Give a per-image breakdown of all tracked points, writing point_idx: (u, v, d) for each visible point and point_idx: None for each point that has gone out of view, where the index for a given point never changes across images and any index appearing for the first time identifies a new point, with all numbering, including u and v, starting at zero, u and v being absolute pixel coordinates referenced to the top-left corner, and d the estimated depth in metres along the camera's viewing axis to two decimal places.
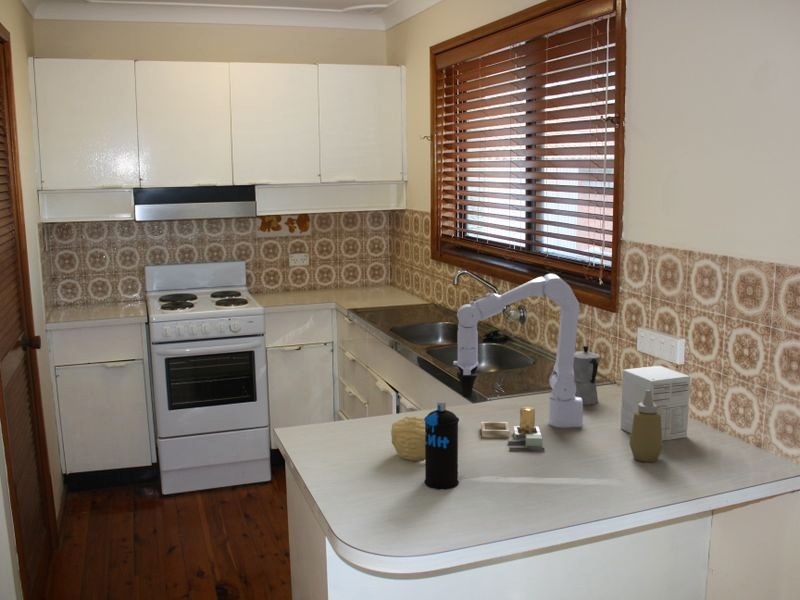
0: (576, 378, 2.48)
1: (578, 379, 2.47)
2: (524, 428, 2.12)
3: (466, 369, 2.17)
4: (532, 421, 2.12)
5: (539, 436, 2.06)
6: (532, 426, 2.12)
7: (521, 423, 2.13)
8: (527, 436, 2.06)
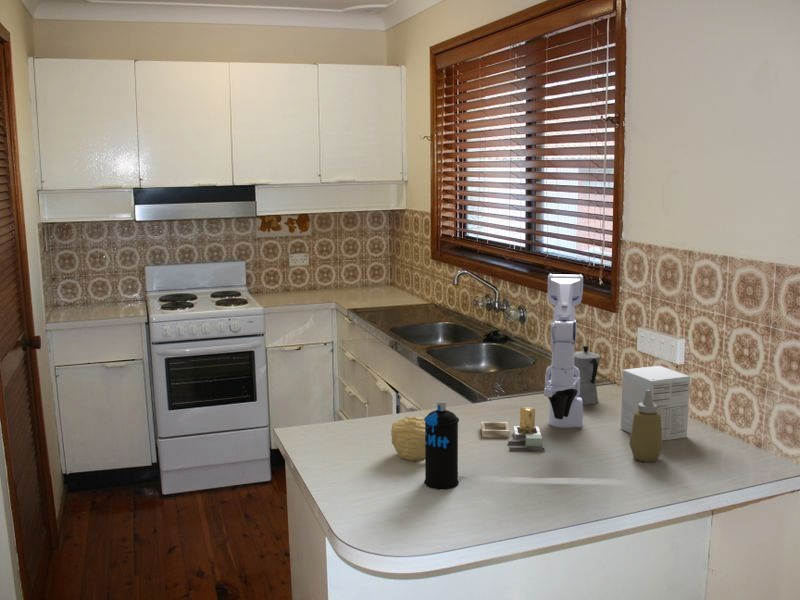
0: None
1: None
2: (524, 428, 2.12)
3: (546, 390, 1.98)
4: (532, 421, 2.12)
5: (539, 436, 2.06)
6: (532, 426, 2.12)
7: (521, 423, 2.13)
8: (527, 436, 2.06)
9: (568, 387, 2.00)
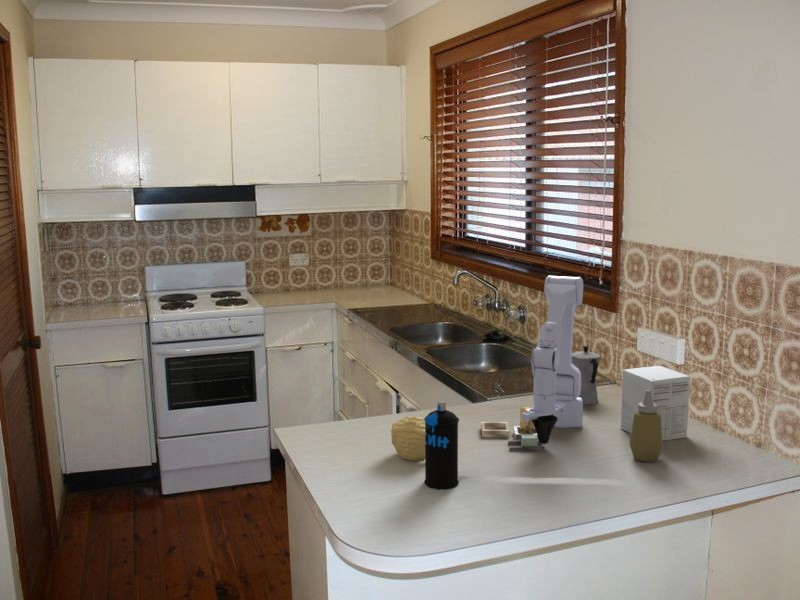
0: None
1: None
2: (524, 428, 2.12)
3: (523, 415, 2.01)
4: None
5: (534, 436, 2.06)
6: (532, 426, 2.12)
7: (521, 423, 2.13)
8: (522, 436, 2.06)
9: (547, 413, 2.02)
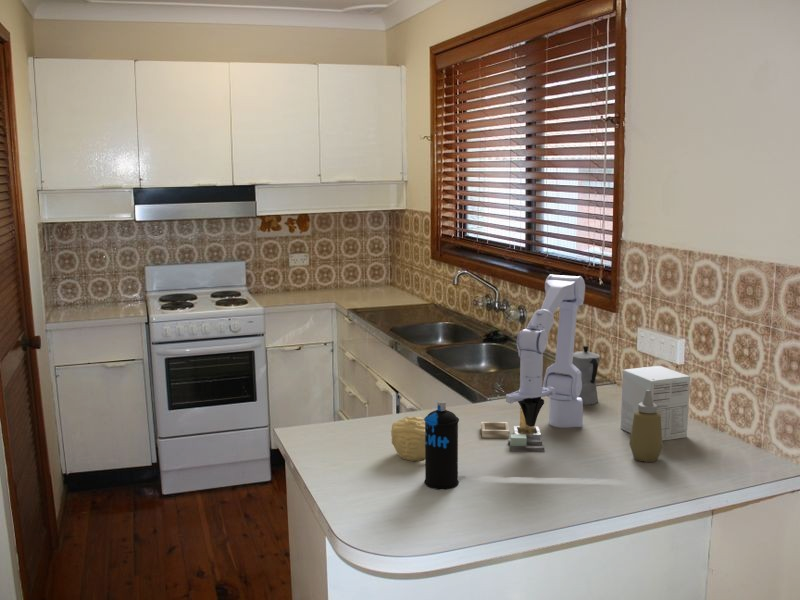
0: None
1: None
2: (524, 428, 2.12)
3: (507, 396, 2.01)
4: None
5: (524, 436, 2.06)
6: (532, 426, 2.12)
7: (521, 423, 2.13)
8: (512, 436, 2.06)
9: (532, 396, 2.01)
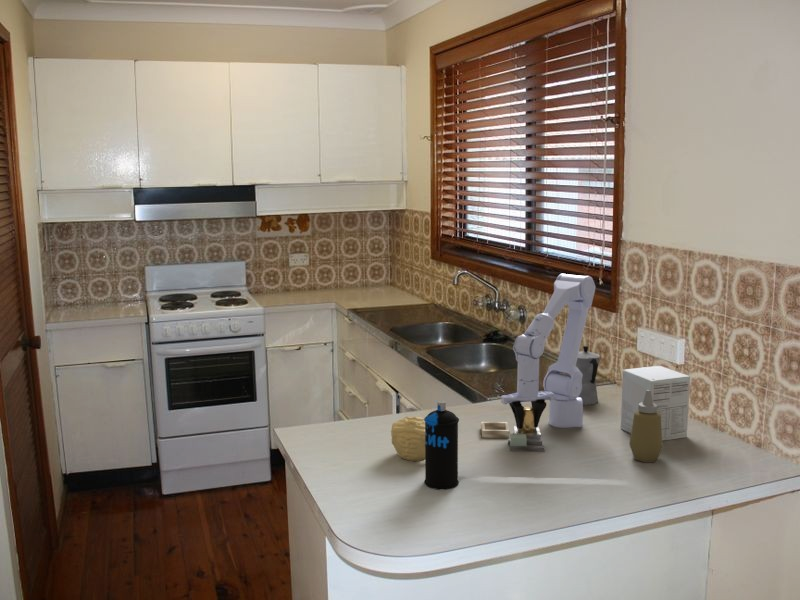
0: None
1: None
2: (524, 428, 2.12)
3: (502, 397, 2.11)
4: (532, 421, 2.12)
5: (524, 436, 2.06)
6: (532, 426, 2.12)
7: None
8: (512, 436, 2.06)
9: (526, 398, 2.10)
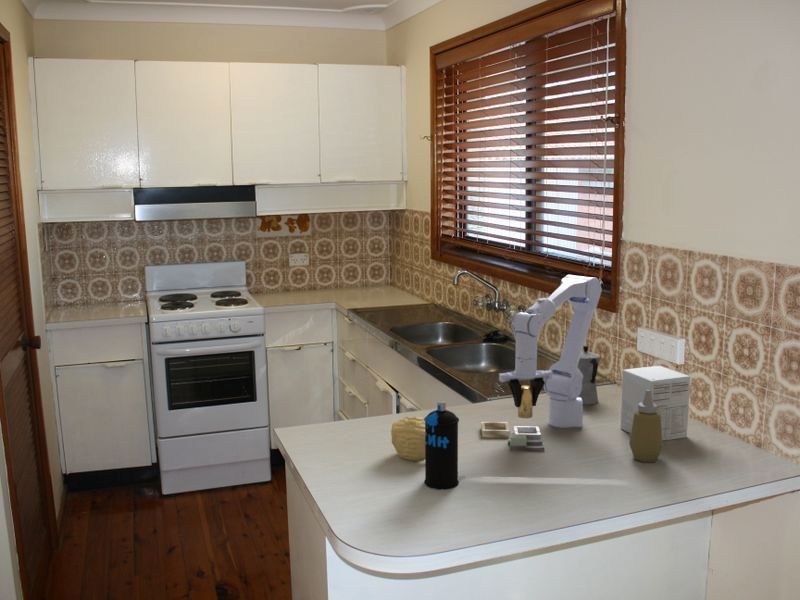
0: None
1: None
2: (522, 406, 2.12)
3: (500, 375, 2.11)
4: (530, 399, 2.11)
5: (524, 436, 2.06)
6: (529, 404, 2.11)
7: None
8: (512, 436, 2.06)
9: (524, 376, 2.09)
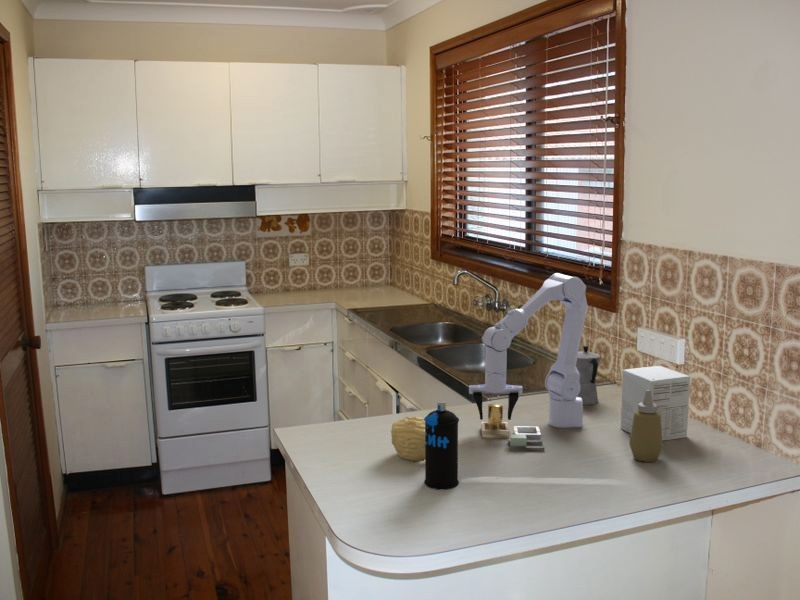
0: None
1: None
2: (490, 423, 2.16)
3: (469, 387, 2.17)
4: (498, 418, 2.15)
5: (524, 436, 2.06)
6: (498, 422, 2.15)
7: (488, 419, 2.17)
8: (512, 436, 2.06)
9: (490, 390, 2.13)
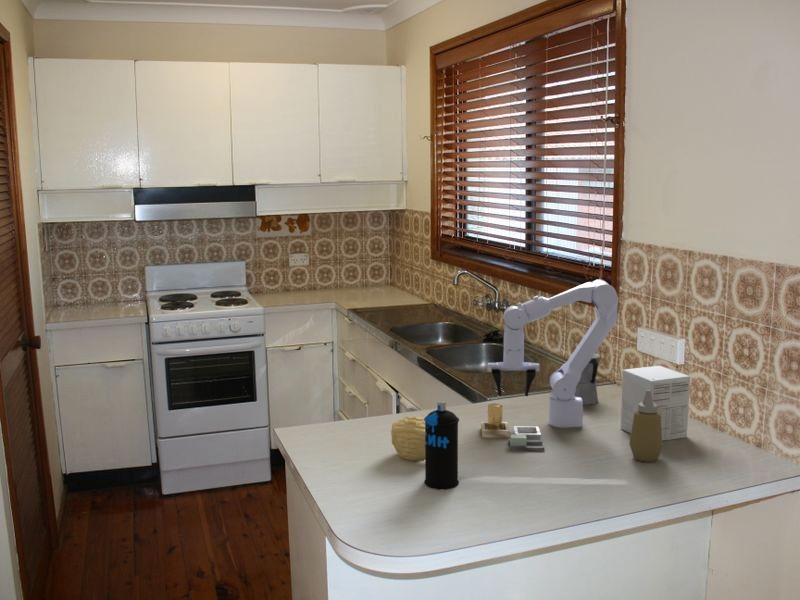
0: None
1: None
2: (490, 424, 2.16)
3: None
4: (498, 418, 2.15)
5: (524, 436, 2.06)
6: (497, 422, 2.15)
7: (488, 419, 2.17)
8: (512, 436, 2.06)
9: (508, 367, 2.21)
